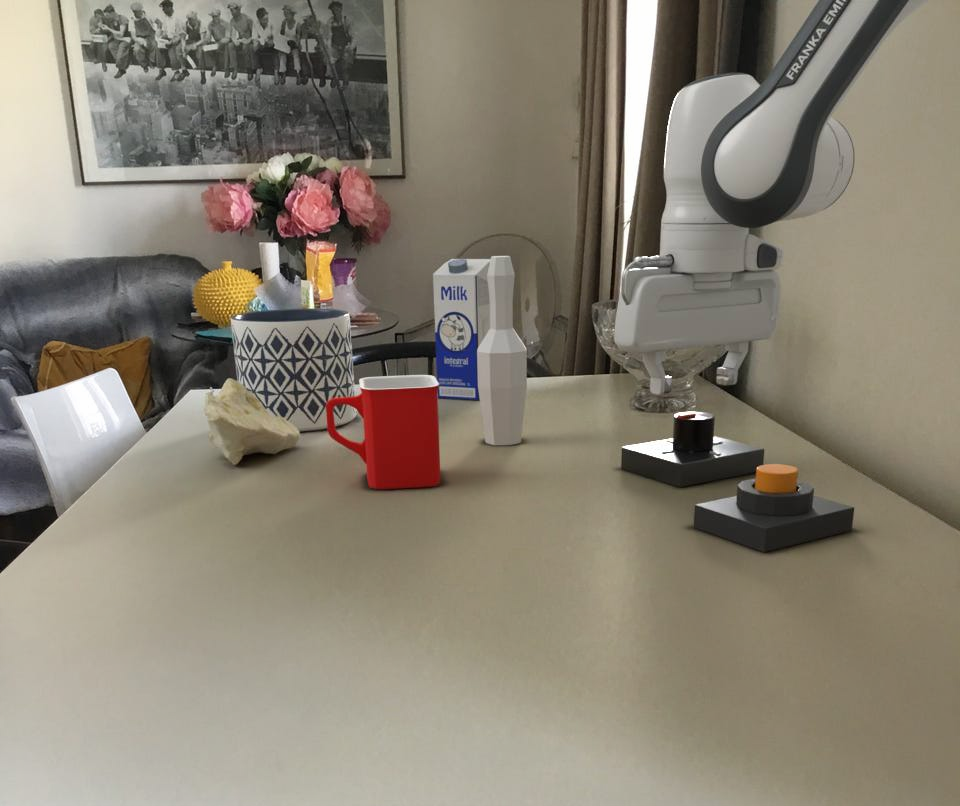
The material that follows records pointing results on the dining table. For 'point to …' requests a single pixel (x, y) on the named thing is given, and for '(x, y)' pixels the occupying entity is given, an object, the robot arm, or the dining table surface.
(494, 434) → the low poly bottle
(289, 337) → the planter
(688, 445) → the temp dial
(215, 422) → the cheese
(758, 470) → the button
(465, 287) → the milk carton
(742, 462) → the dial panel
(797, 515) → the button base
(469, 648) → the dining table surface
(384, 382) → the mug
